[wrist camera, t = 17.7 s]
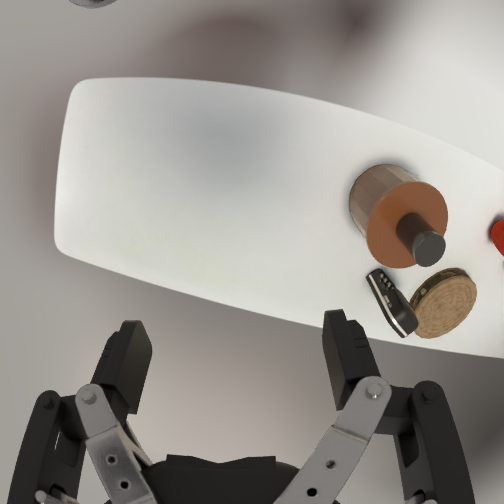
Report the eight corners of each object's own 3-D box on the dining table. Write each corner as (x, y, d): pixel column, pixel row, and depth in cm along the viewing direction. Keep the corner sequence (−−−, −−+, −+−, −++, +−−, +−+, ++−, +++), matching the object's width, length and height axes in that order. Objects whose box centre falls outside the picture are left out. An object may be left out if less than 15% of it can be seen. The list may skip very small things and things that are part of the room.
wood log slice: (480, 282, 50) (487, 290, 48) (436, 334, 58) (441, 344, 55) (442, 256, 47) (450, 265, 44) (392, 319, 54) (397, 329, 52)
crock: (350, 164, 39) (372, 184, 31) (418, 164, 38) (448, 184, 31) (346, 234, 44) (364, 266, 37) (409, 230, 44) (434, 259, 37)
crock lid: (367, 178, 32) (391, 201, 26) (449, 179, 31) (480, 200, 26) (359, 267, 38) (375, 300, 32) (434, 259, 38) (456, 288, 32)
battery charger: (399, 285, 50) (424, 329, 40) (382, 297, 51) (405, 343, 41) (381, 262, 47) (408, 307, 37) (364, 275, 48) (387, 322, 39)
